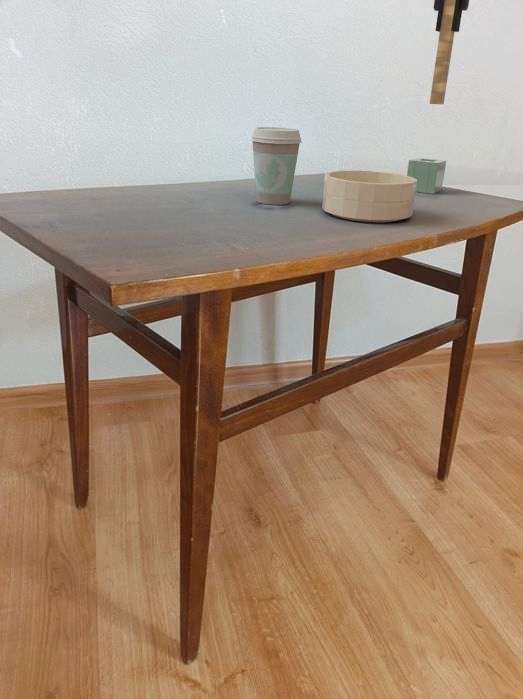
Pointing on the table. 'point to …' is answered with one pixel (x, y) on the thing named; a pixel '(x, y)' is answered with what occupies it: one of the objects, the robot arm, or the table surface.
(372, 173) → the bowl
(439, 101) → the stick
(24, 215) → the table surface
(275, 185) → the coffee cup
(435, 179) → the holder
